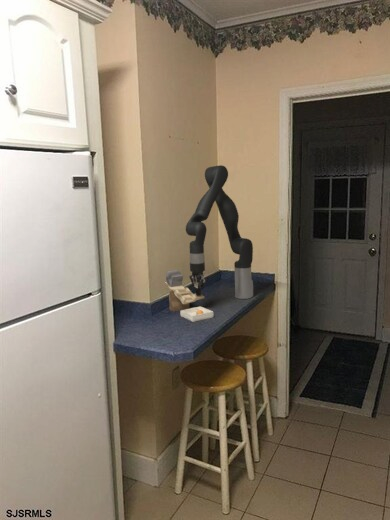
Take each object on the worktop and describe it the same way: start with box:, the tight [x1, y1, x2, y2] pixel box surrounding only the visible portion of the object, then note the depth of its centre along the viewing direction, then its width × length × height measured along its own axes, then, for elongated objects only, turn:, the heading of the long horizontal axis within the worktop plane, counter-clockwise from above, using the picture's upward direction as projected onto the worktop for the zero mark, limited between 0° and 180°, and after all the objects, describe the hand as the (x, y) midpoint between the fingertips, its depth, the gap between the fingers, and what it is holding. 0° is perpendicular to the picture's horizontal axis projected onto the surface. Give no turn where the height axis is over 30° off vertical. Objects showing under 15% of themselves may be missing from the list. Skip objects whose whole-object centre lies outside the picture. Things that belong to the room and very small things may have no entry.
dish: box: [179, 306, 214, 323], centre depth 208 cm, size 12×12×3 cm
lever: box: [164, 269, 205, 304], centre depth 220 cm, size 20×13×7 cm, turn 32°
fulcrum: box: [168, 286, 191, 313], centre depth 222 cm, size 4×10×10 cm, turn 122°
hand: (198, 295), depth 218 cm, fingers closed
